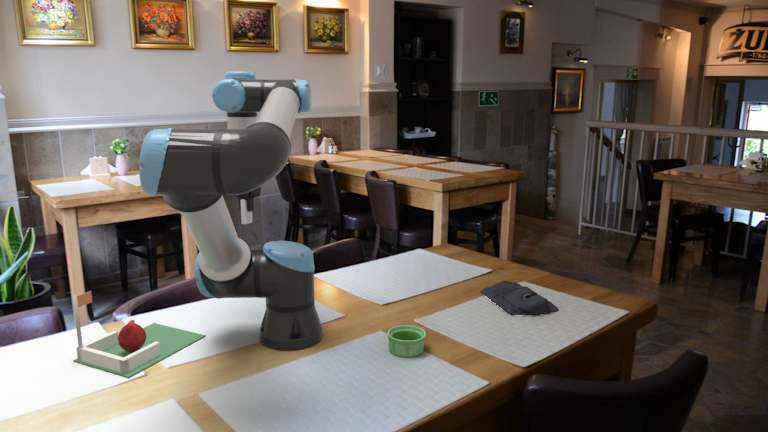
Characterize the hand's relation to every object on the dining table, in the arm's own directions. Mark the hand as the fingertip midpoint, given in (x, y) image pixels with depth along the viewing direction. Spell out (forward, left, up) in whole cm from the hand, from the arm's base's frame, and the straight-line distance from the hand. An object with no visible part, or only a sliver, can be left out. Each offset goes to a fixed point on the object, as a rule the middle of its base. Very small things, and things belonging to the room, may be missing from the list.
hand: (247, 222), depth 153 cm
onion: (+7, +34, -24) cm, 42 cm away
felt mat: (+8, +31, -24) cm, 40 cm away
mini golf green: (+8, +37, -24) cm, 45 cm away
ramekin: (-48, +4, -25) cm, 54 cm away
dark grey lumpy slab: (-64, -39, -25) cm, 79 cm away
